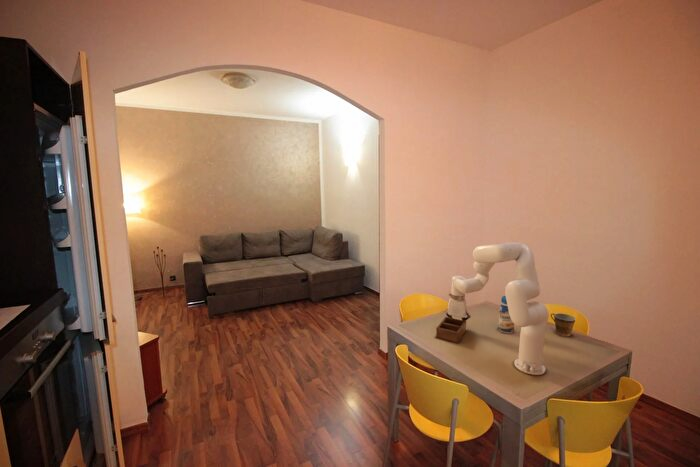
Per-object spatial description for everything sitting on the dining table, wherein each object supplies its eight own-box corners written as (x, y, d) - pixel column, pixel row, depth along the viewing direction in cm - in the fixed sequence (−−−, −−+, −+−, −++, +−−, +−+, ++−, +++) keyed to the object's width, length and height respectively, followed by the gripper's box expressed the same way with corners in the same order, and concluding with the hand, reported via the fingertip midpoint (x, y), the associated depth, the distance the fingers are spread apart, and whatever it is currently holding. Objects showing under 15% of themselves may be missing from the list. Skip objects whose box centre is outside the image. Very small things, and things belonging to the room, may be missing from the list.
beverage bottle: (514, 329, 186) (516, 296, 183) (513, 335, 179) (515, 301, 176) (498, 326, 191) (500, 294, 188) (497, 331, 183) (499, 298, 180)
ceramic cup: (577, 335, 178) (579, 318, 176) (565, 339, 174) (567, 321, 172) (555, 326, 190) (557, 310, 188) (543, 329, 186) (545, 313, 184)
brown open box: (458, 333, 170) (467, 318, 186) (436, 327, 177) (447, 314, 192) (458, 343, 171) (467, 328, 187) (436, 337, 178) (447, 323, 193)
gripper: (441, 296, 188) (440, 324, 191) (471, 301, 178) (470, 331, 181) (445, 292, 194) (444, 320, 197) (474, 297, 185) (473, 327, 187)
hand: (456, 325), depth 189 cm, fingers closed on brown open box, 6 cm apart
